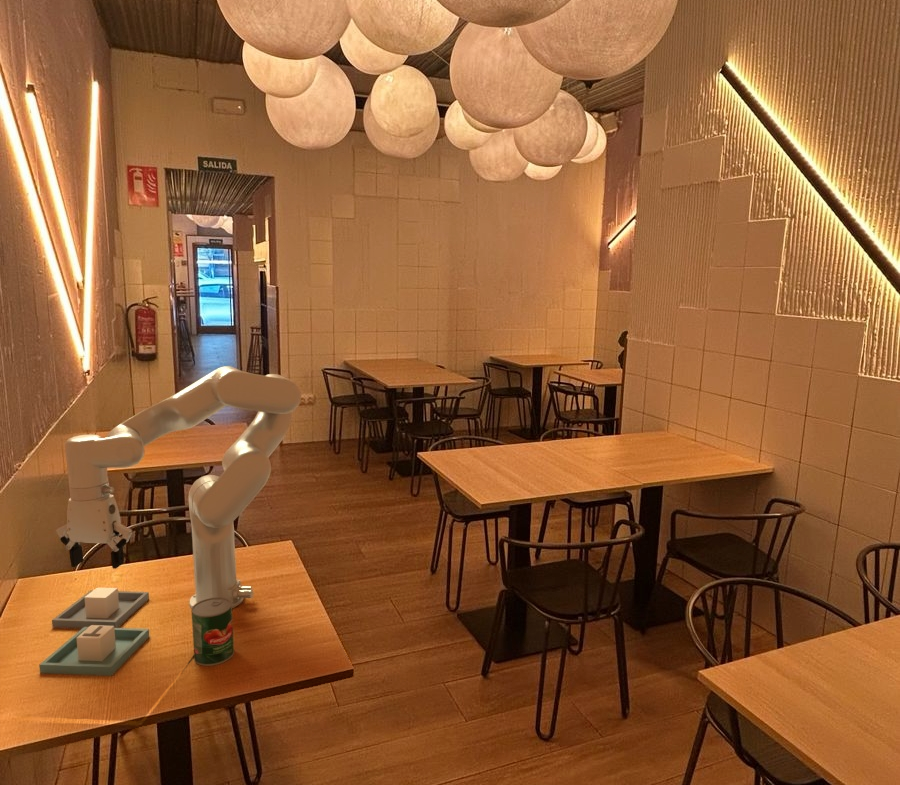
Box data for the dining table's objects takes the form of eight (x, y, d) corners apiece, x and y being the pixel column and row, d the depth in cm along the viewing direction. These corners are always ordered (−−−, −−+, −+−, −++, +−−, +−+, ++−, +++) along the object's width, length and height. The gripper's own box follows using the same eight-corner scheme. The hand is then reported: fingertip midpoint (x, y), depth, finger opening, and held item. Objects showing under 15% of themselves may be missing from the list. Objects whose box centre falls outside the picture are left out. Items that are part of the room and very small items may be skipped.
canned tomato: (220, 668, 131) (217, 617, 130) (186, 663, 133) (182, 613, 131) (241, 647, 139) (239, 599, 137) (208, 643, 141) (205, 595, 139)
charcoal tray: (149, 601, 159) (148, 592, 159) (115, 632, 145) (115, 622, 145) (91, 599, 160) (90, 590, 160) (52, 630, 146) (51, 620, 145)
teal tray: (149, 639, 142) (148, 628, 142) (111, 678, 128) (110, 667, 127) (85, 636, 143) (84, 626, 143) (40, 675, 129) (39, 664, 128)
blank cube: (119, 607, 155) (117, 588, 154) (107, 618, 150) (105, 597, 149) (98, 607, 155) (97, 587, 154) (86, 617, 150) (84, 597, 149)
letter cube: (115, 647, 138) (114, 625, 137) (102, 661, 133) (100, 637, 132) (93, 647, 138) (91, 624, 137) (78, 660, 133) (76, 637, 132)
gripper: (137, 487, 145) (143, 559, 148) (65, 485, 147) (73, 557, 149) (116, 498, 137) (124, 574, 140) (40, 496, 139) (49, 571, 142)
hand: (97, 565), depth 145 cm, fingers open, 9 cm apart
